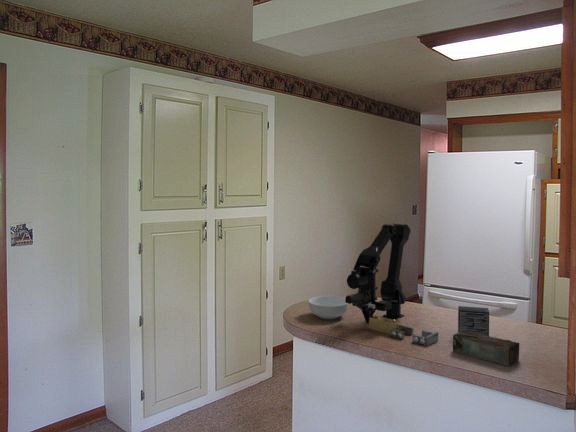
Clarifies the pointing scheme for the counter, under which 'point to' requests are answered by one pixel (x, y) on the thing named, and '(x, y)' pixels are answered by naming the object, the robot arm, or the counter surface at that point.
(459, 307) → the small box
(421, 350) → the counter surface
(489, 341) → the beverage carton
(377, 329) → the brass block with pegs
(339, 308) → the cereal bowl
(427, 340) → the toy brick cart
